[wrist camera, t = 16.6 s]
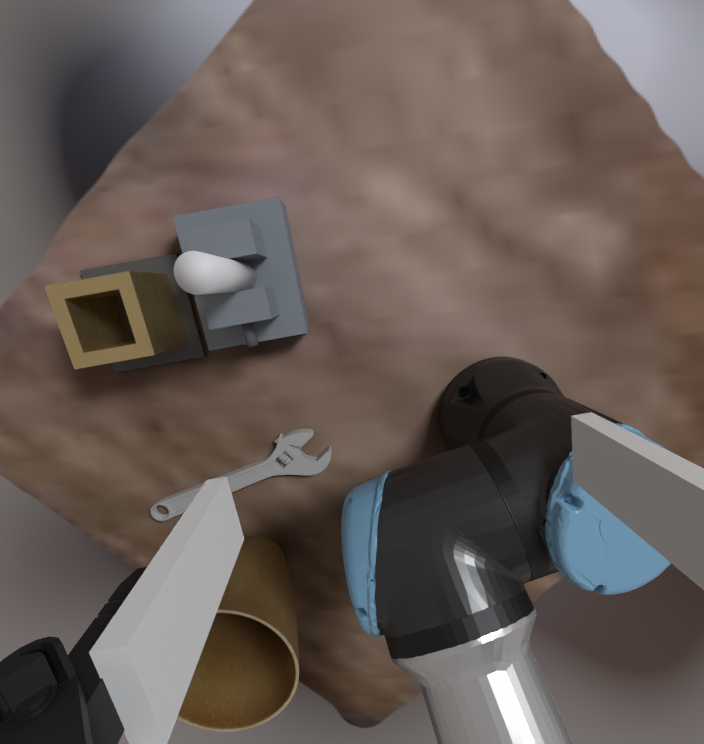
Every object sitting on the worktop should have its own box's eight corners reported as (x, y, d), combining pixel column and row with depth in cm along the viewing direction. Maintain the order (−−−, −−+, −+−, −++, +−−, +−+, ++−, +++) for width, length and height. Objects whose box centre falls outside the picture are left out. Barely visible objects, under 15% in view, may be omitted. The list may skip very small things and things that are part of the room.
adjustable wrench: (161, 517, 50) (155, 525, 48) (140, 477, 48) (133, 484, 47) (335, 462, 49) (334, 468, 47) (319, 419, 47) (318, 424, 45)
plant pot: (332, 557, 51) (330, 675, 36) (259, 618, 53) (226, 754, 38) (256, 489, 49) (217, 585, 33) (181, 556, 51) (111, 676, 35)
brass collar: (188, 342, 43) (154, 355, 35) (122, 354, 43) (74, 369, 35) (168, 273, 41) (128, 271, 34) (99, 286, 41) (44, 286, 34)
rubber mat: (206, 355, 44) (204, 356, 44) (117, 371, 44) (114, 372, 44) (178, 253, 41) (176, 253, 41) (83, 271, 42) (80, 270, 41)
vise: (309, 328, 44) (292, 354, 27) (220, 344, 44) (148, 380, 27) (285, 205, 41) (247, 150, 24) (188, 223, 41) (85, 180, 24)
